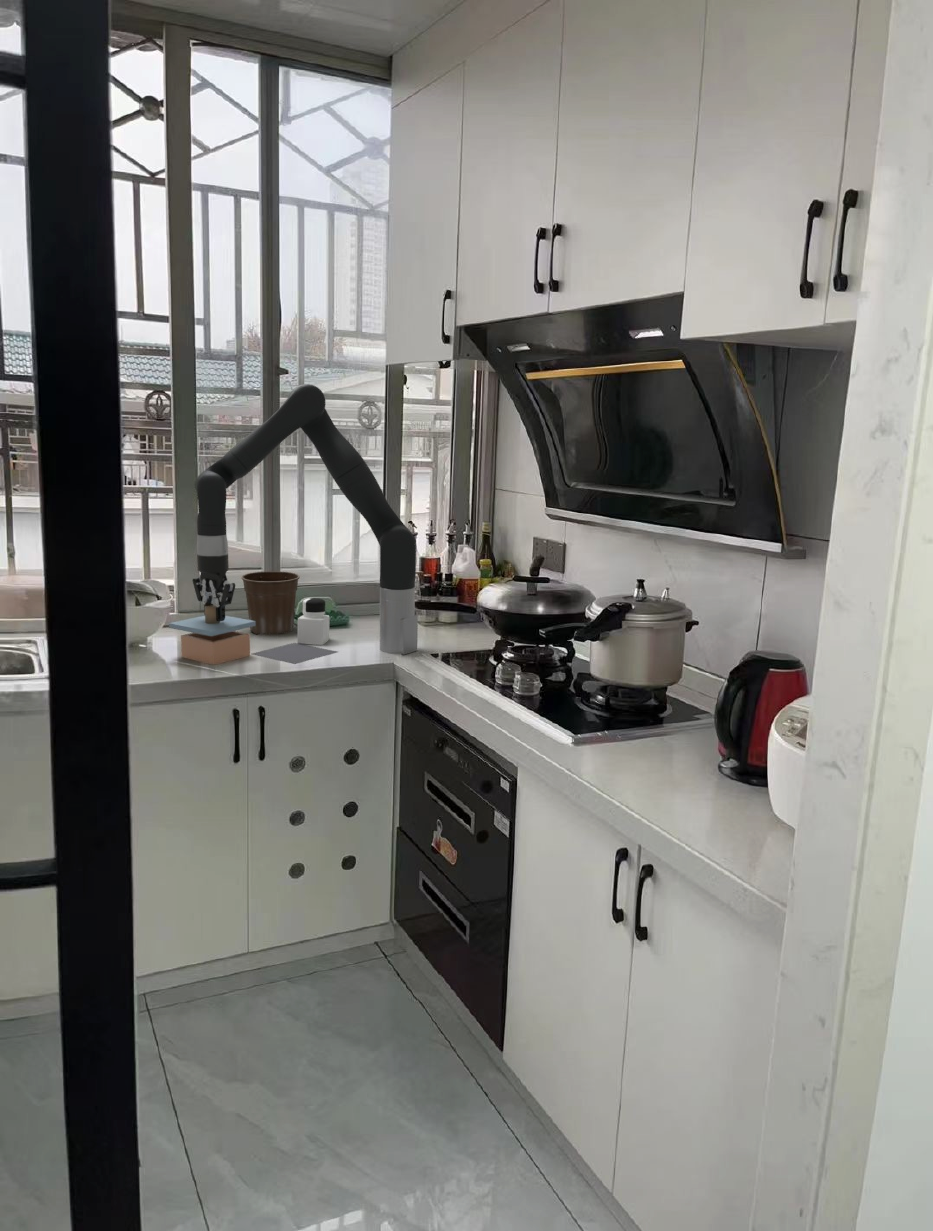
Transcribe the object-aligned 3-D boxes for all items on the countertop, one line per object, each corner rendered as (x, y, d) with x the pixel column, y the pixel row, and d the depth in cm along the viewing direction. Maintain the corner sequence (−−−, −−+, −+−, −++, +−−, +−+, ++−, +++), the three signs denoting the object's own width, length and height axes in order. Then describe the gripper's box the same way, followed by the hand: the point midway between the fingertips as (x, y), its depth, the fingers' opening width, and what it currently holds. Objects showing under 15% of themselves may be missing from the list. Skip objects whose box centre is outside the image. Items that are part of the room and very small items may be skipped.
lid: (255, 625, 247) (255, 605, 246) (211, 636, 235) (210, 615, 234) (214, 618, 255) (213, 598, 254) (169, 627, 243) (168, 607, 242)
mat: (338, 653, 254) (338, 651, 254) (295, 665, 241) (294, 663, 241) (294, 644, 263) (294, 642, 263) (250, 655, 250) (250, 653, 250)
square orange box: (250, 656, 249) (249, 633, 248) (213, 666, 239) (212, 642, 238) (218, 649, 255) (217, 627, 254) (181, 658, 246) (180, 635, 245)
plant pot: (295, 638, 270) (294, 581, 266) (237, 637, 270) (235, 580, 266) (304, 625, 285) (303, 571, 282) (250, 624, 285) (248, 570, 282)
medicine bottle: (329, 640, 268) (330, 597, 266) (322, 645, 261) (323, 601, 259) (304, 638, 268) (304, 596, 266) (296, 643, 261) (297, 600, 259)
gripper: (243, 553, 241) (245, 621, 244) (205, 548, 249) (207, 613, 252) (220, 557, 235) (222, 626, 238) (181, 551, 243) (184, 618, 246)
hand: (214, 619), depth 245 cm, fingers closed on lid, 3 cm apart
